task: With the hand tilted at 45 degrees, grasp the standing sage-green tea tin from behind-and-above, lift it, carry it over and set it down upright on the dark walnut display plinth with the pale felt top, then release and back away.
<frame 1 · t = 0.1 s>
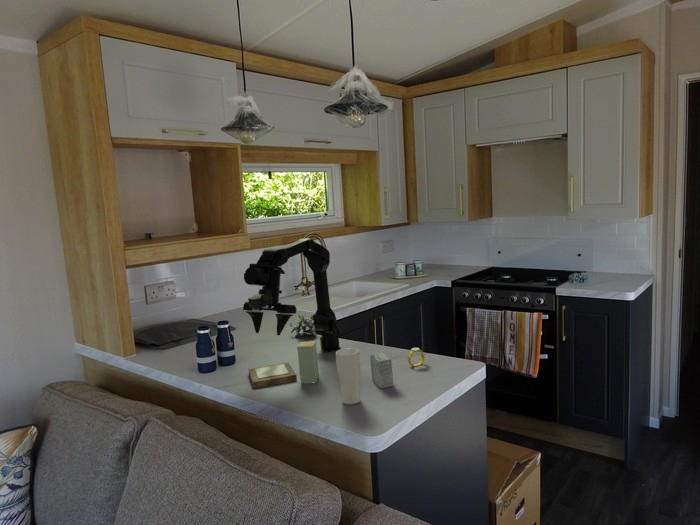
hand: (267, 334, 175), 15 cm above the countertop, tool pointing down, fingers open, 9 cm apart
medicine box: (382, 384, 165), on the countertop
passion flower: (304, 336, 227), on the countertop
display plinth: (272, 377, 178), on the countertop
tea tin: (310, 380, 173), on the countertop
watch: (416, 366, 179), on the countertop
drinking glass: (351, 402, 153), on the countertop
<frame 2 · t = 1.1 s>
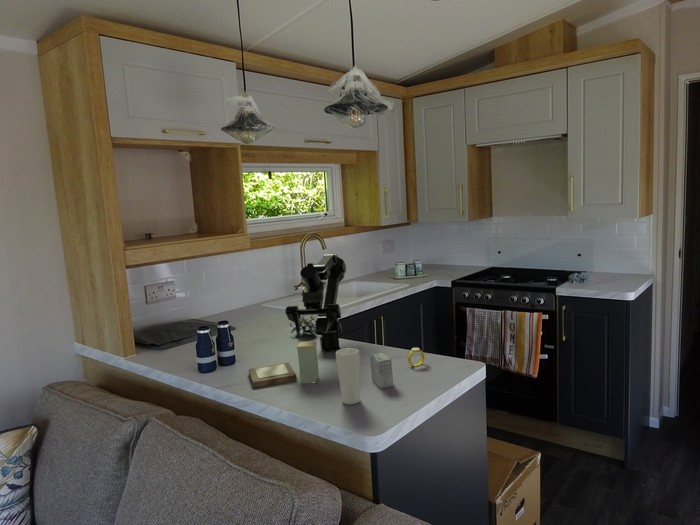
hand: (311, 333, 179), 13 cm above the countertop, tool tilted 45°, fingers open, 9 cm apart
nothing on the countertop moved.
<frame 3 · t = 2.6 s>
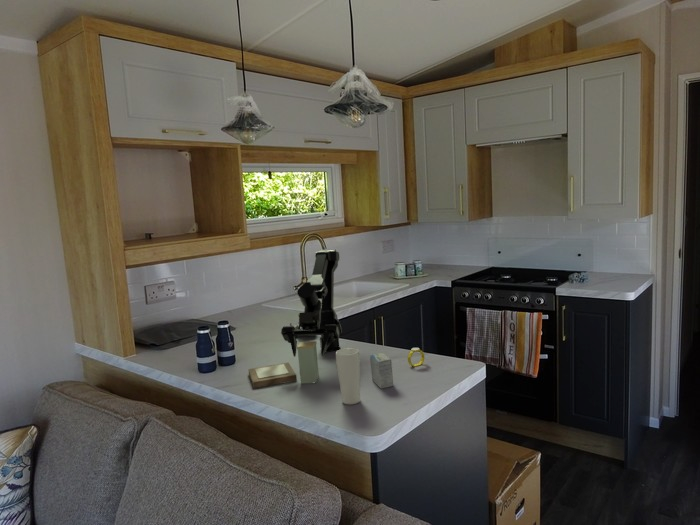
hand: (308, 355, 172), 8 cm above the countertop, tool tilted 45°, fingers open, 9 cm apart
nothing on the countertop moved.
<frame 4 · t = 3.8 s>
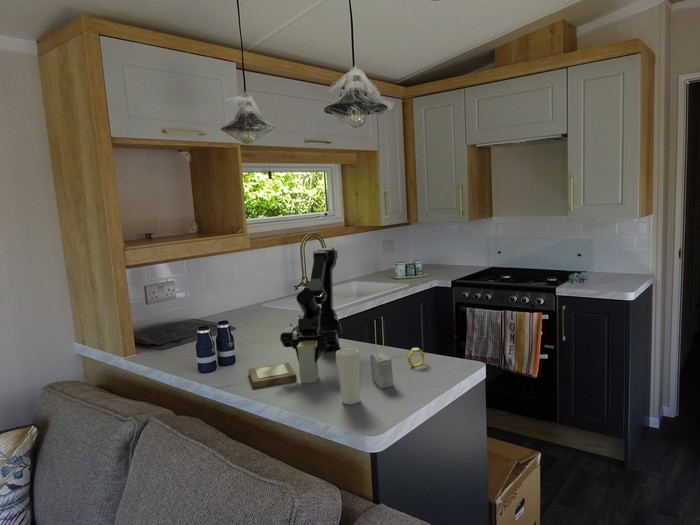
hand: (307, 362, 170), 7 cm above the countertop, tool tilted 45°, fingers closed on tea tin, 5 cm apart
tea tin: (310, 380, 173), on the countertop, touching gripper
everything else where it was.
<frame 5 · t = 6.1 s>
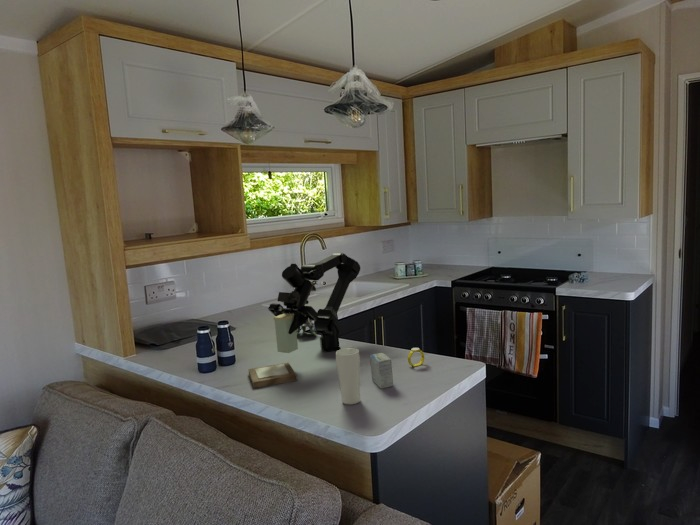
hand: (283, 333, 182), 13 cm above the countertop, tool tilted 45°, fingers closed on tea tin, 5 cm apart
tea tin: (287, 350, 185), point 7 cm above the countertop, touching gripper
everything else where it was.
when the fingers open (10 cm above the countertop, at t = 8.2 s): tea tin stays where it is, resting on display plinth.
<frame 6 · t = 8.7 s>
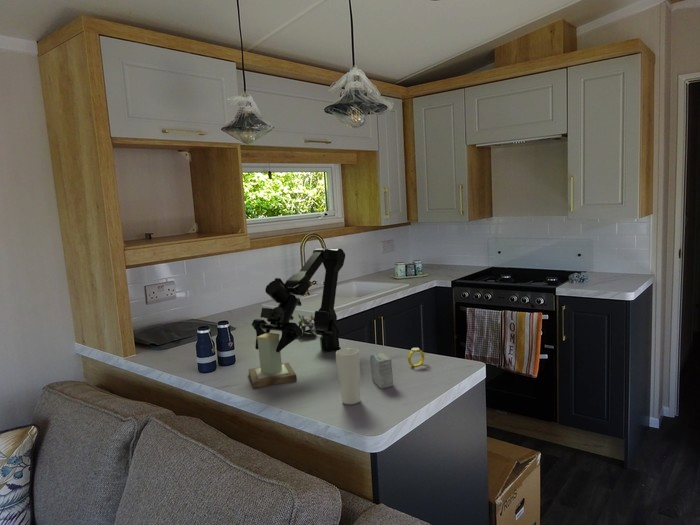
hand: (266, 350, 176), 10 cm above the countertop, tool tilted 45°, fingers open, 9 cm apart
tea tin: (271, 370, 178), point 2 cm above the countertop, touching display plinth
everything else where it was.
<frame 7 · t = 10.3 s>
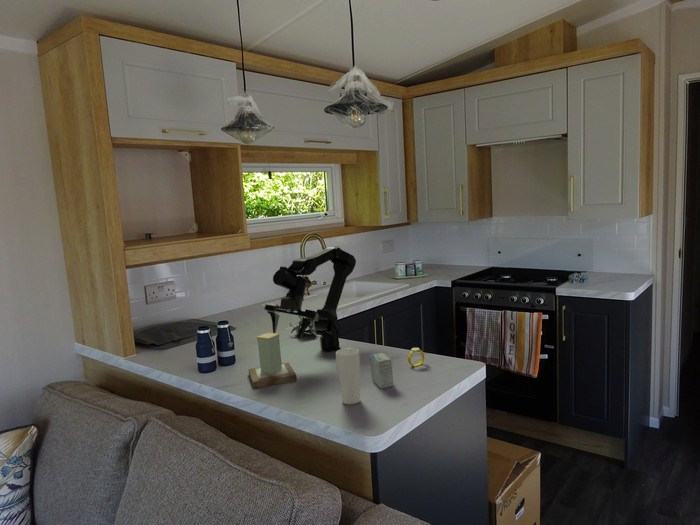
hand: (286, 335, 185), 12 cm above the countertop, tool tilted 25°, fingers open, 9 cm apart
nothing on the countertop moved.
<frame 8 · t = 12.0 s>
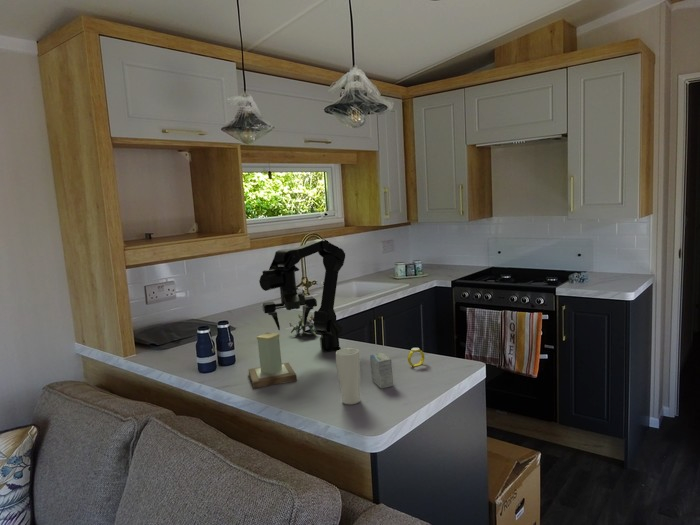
hand: (291, 328, 190), 13 cm above the countertop, tool pointing down, fingers open, 9 cm apart
nothing on the countertop moved.
at the end: tea tin inside the target area on the display plinth (0.0 cm from its centre), point 2.3 cm above the display plinth's base; tea tin tilted 0°; the gripper is holding nothing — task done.
